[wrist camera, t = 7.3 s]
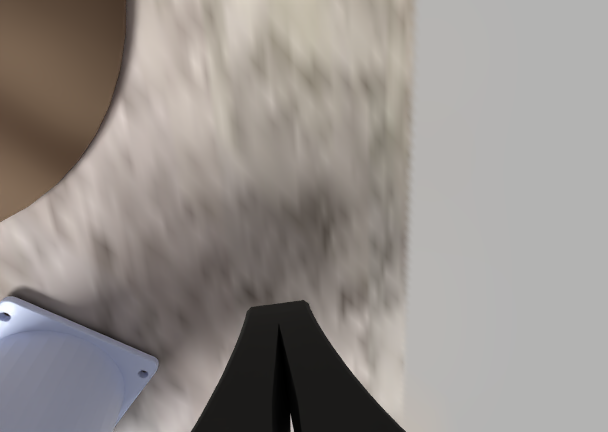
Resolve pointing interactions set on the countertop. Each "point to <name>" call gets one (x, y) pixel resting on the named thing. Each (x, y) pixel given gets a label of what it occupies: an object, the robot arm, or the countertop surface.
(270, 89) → the countertop surface
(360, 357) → the countertop surface
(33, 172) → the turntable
